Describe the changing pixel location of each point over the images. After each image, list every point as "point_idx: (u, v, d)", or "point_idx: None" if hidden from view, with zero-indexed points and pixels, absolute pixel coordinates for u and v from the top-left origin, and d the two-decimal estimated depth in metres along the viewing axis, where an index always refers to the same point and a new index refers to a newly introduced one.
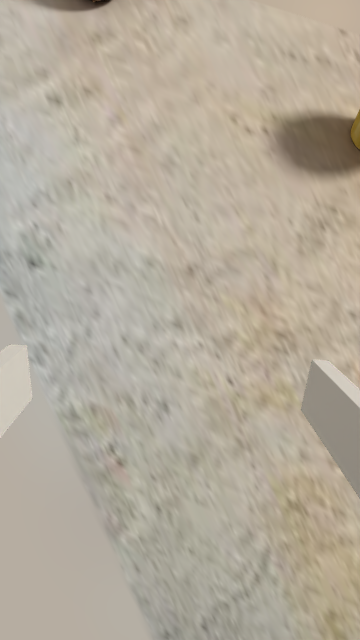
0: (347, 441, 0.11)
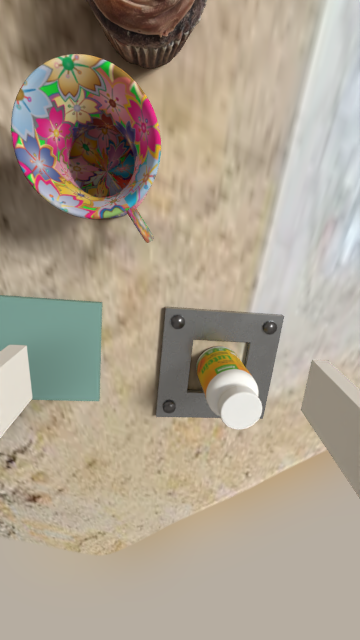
0: (347, 441, 0.11)
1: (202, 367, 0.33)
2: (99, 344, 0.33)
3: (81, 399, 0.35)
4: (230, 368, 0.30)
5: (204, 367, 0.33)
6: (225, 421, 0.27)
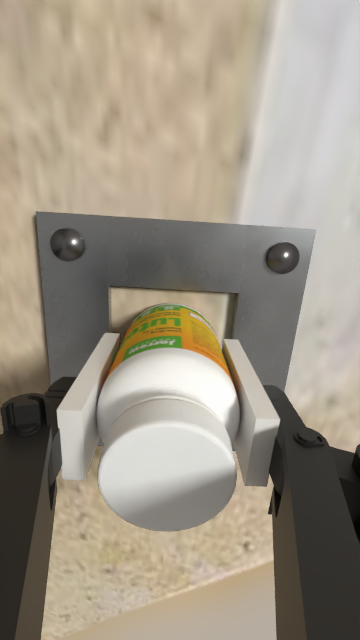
0: None
1: None
2: None
3: None
4: (159, 347, 0.11)
5: (120, 346, 0.14)
6: (117, 509, 0.09)
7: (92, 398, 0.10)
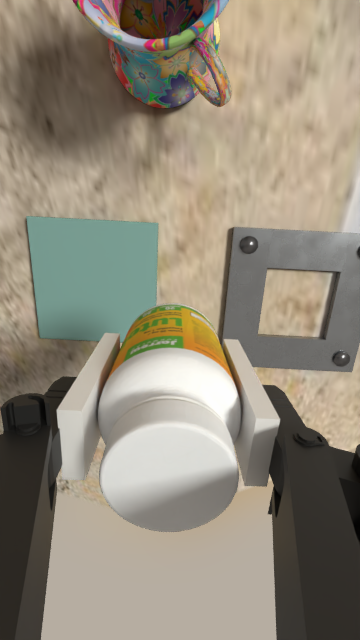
0: None
1: (121, 346, 0.14)
2: (155, 275, 0.29)
3: None
4: (161, 347, 0.11)
5: (122, 346, 0.14)
6: (119, 509, 0.09)
7: (92, 398, 0.10)
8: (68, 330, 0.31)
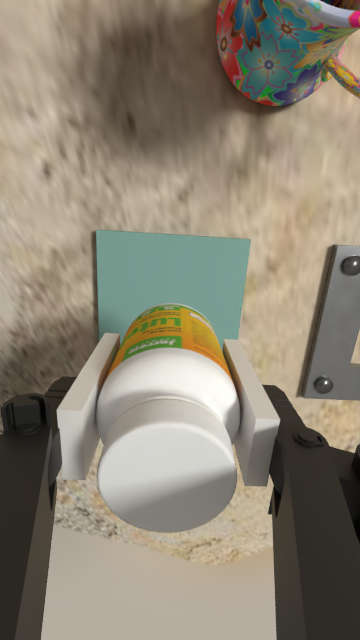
0: None
1: None
2: (241, 298, 0.25)
3: None
4: (159, 346, 0.11)
5: (120, 346, 0.14)
6: (117, 510, 0.09)
7: (92, 398, 0.10)
8: None
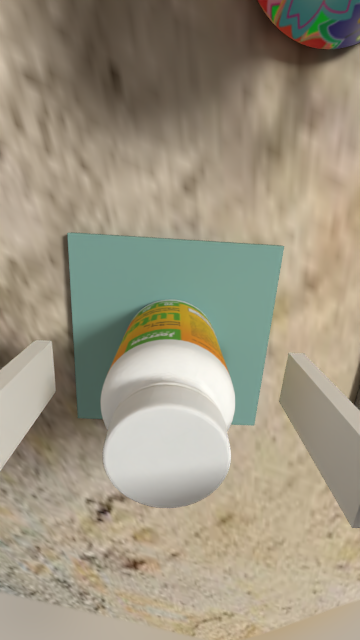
0: (316, 428, 0.11)
1: None
2: (268, 326, 0.18)
3: None
4: (160, 338, 0.11)
5: (123, 339, 0.15)
6: (121, 486, 0.09)
7: None
8: None
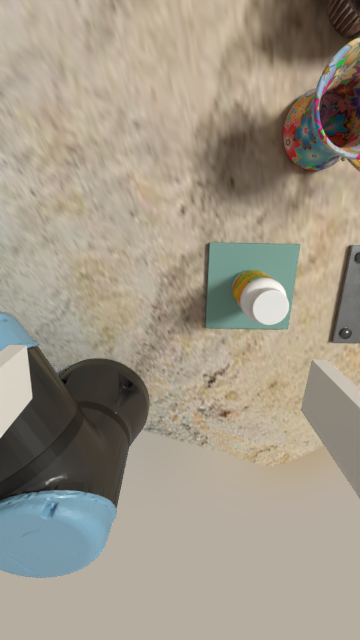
0: (347, 441, 0.11)
1: (237, 284, 0.38)
2: (294, 280, 0.41)
3: (274, 327, 0.43)
4: (261, 277, 0.34)
5: (238, 283, 0.38)
6: (257, 317, 0.32)
7: None
8: (227, 321, 0.43)
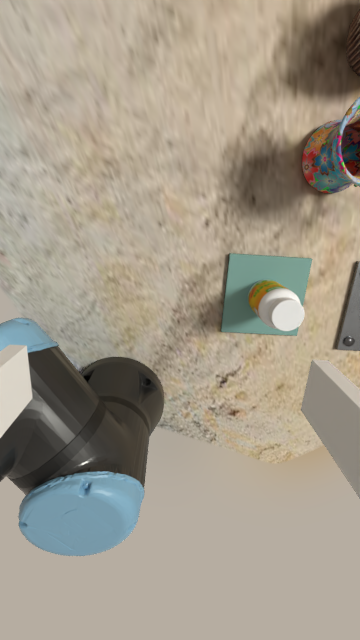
0: (347, 441, 0.11)
1: (254, 293, 0.42)
2: (304, 290, 0.45)
3: (284, 333, 0.47)
4: (278, 288, 0.38)
5: (256, 292, 0.41)
6: (275, 323, 0.36)
7: None
8: (241, 326, 0.46)
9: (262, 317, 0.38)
